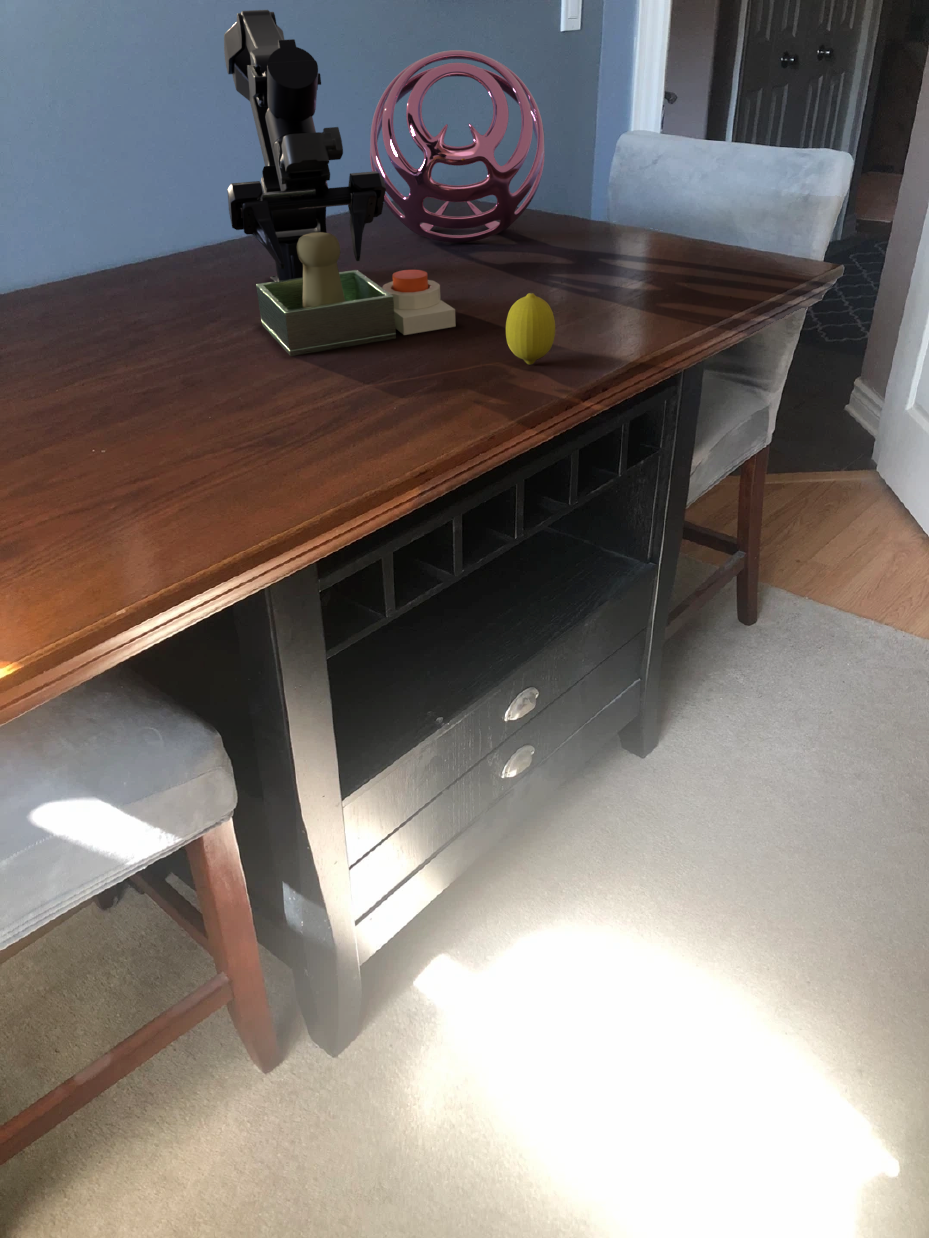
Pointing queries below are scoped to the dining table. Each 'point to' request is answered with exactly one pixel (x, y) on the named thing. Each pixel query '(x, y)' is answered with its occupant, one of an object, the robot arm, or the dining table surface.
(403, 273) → the button
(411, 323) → the control block
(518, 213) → the pink openwork sphere
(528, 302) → the lemon
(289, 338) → the warming box
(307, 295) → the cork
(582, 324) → the dining table surface
